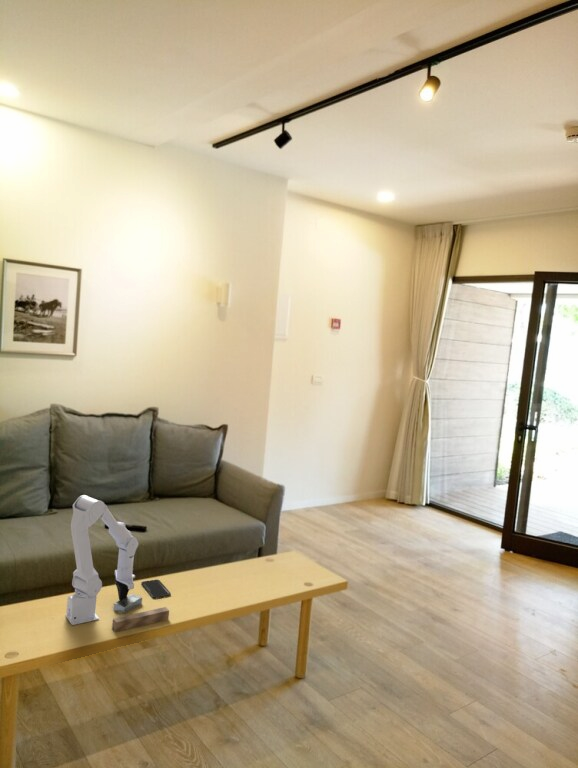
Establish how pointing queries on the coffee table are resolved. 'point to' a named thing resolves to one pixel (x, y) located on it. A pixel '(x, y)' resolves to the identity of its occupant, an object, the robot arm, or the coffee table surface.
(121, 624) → the walnut bar
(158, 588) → the phone
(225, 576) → the coffee table surface
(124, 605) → the plate block
